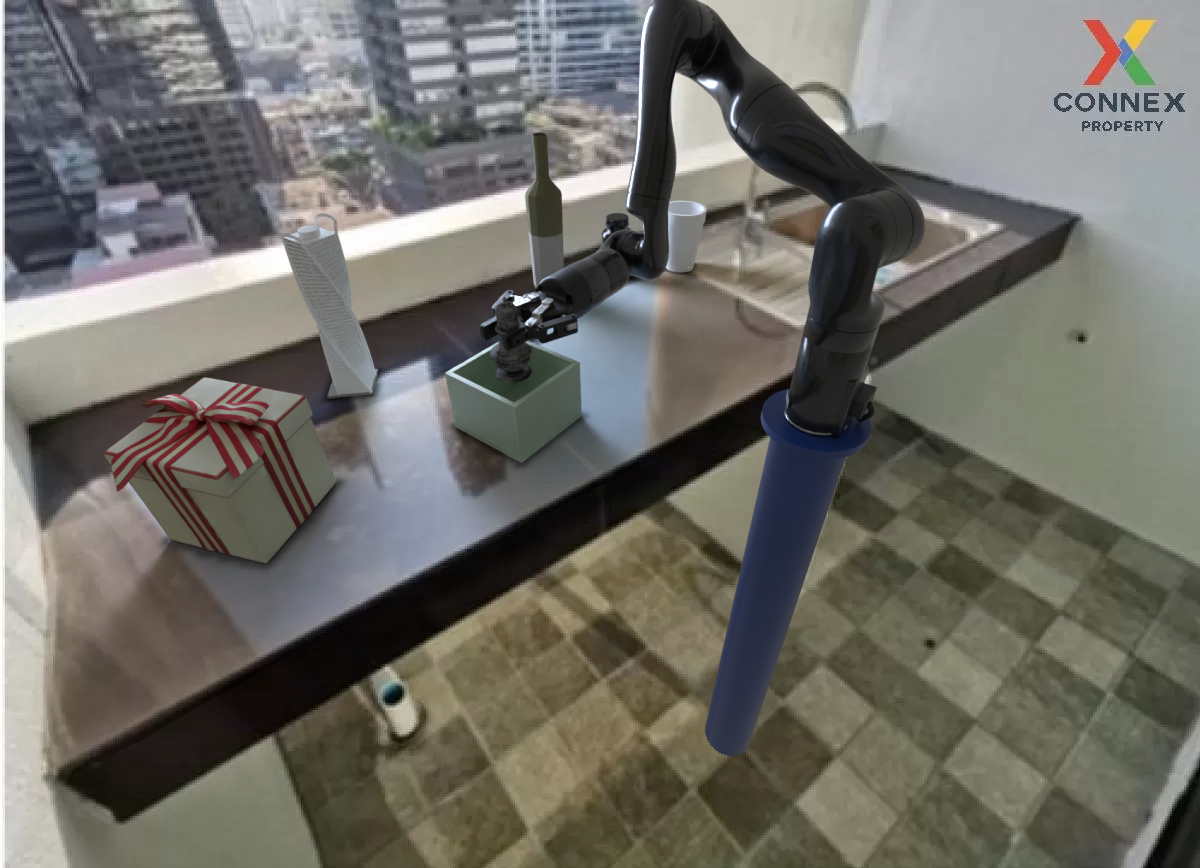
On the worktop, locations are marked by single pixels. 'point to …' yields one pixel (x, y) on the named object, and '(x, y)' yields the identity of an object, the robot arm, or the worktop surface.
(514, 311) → the dark grey turned piece
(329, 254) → the skyscraper
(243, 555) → the gift box
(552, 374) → the waste bin
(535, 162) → the bottle
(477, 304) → the worktop surface
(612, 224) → the supplement bottle
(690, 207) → the foam cup
